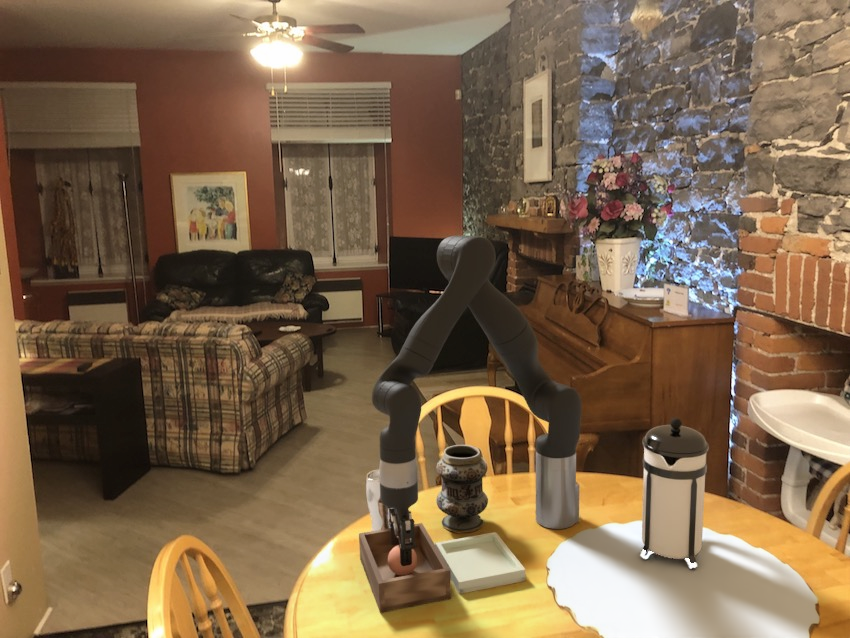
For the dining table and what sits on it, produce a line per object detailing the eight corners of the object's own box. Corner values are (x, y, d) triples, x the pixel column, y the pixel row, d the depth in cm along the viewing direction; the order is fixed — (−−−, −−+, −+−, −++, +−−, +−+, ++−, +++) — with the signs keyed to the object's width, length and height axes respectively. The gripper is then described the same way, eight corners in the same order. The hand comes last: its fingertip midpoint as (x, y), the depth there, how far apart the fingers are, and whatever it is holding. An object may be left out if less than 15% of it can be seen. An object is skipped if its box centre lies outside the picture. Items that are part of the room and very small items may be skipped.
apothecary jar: (497, 529, 160) (496, 455, 157) (449, 540, 156) (447, 464, 152) (474, 507, 171) (473, 438, 168) (429, 517, 167) (427, 446, 163)
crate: (422, 548, 153) (422, 523, 152) (451, 598, 134) (450, 570, 133) (360, 559, 149) (358, 533, 148) (380, 612, 130) (378, 583, 129)
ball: (413, 563, 145) (412, 536, 144) (421, 578, 139) (420, 551, 138) (385, 568, 143) (384, 541, 142) (392, 584, 138) (390, 556, 136)
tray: (495, 542, 154) (495, 532, 154) (525, 580, 139) (525, 569, 139) (435, 553, 150) (435, 542, 150) (459, 593, 135) (458, 582, 135)
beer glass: (395, 545, 154) (392, 482, 152) (365, 542, 156) (361, 480, 153) (402, 530, 161) (399, 469, 158) (373, 528, 163) (370, 467, 160)
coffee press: (728, 564, 143) (736, 425, 137) (659, 577, 139) (664, 434, 133) (678, 525, 159) (683, 399, 153) (615, 536, 155) (618, 407, 150)
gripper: (426, 490, 132) (428, 569, 135) (407, 463, 145) (410, 534, 148) (388, 496, 130) (390, 575, 133) (372, 467, 143) (375, 540, 146)
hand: (400, 554), depth 140 cm, fingers open, 8 cm apart
